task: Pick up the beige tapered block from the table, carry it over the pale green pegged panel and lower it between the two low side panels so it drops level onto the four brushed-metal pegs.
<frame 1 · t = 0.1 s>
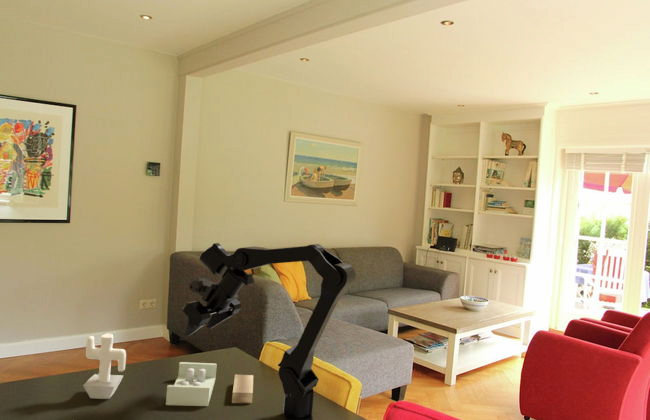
hand: (197, 331, 127), 15 cm above the table, tool tilted 30°, fingers open, 9 cm apart
beige tapered block: (242, 394, 126), on the table
figurine: (102, 395, 117), on the table
pale green pegged panel: (192, 391, 124), on the table
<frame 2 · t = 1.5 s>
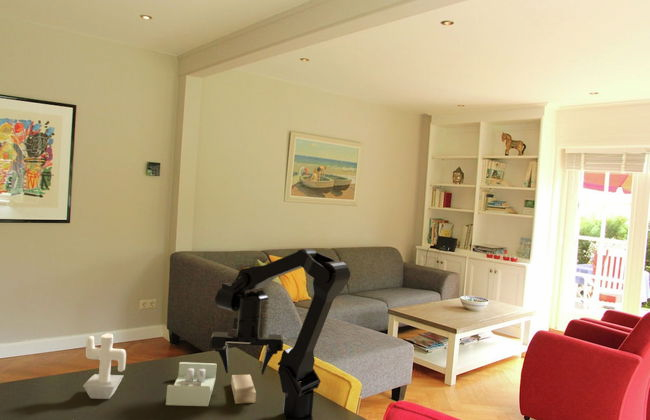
hand: (244, 373, 125), 5 cm above the table, tool pointing down, fingers open, 9 cm apart
nothing on the table moved.
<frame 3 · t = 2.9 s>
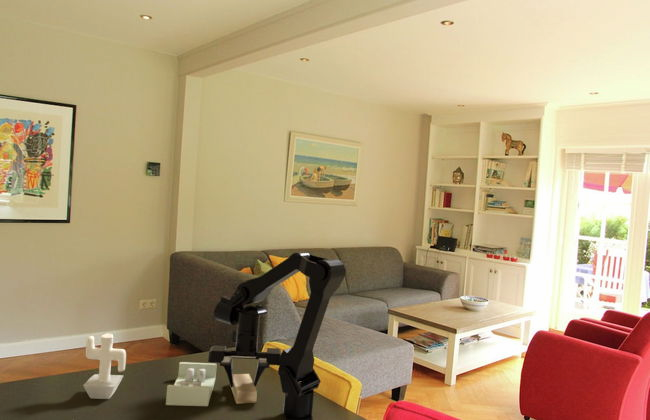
hand: (243, 387, 126), 2 cm above the table, tool pointing down, fingers closed on beige tapered block, 5 cm apart
beige tapered block: (242, 393, 126), on the table, touching gripper
everything else where it was.
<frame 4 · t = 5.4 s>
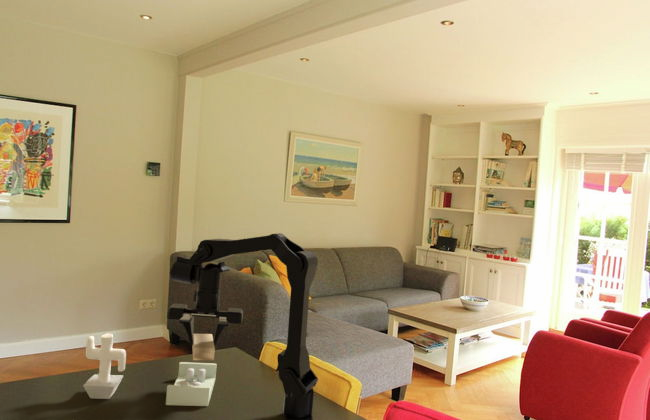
hand: (203, 346, 124), 12 cm above the table, tool pointing down, fingers closed on beige tapered block, 5 cm apart
beige tapered block: (202, 352, 124), point 10 cm above the table, touching gripper
everything else where it was.
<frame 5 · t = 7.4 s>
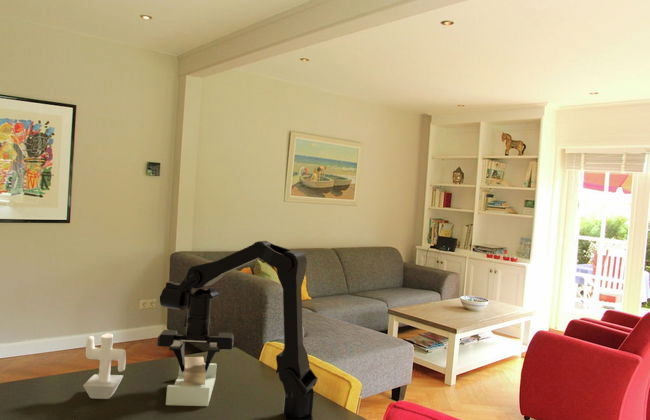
hand: (194, 372, 124), 5 cm above the table, tool pointing down, fingers closed on beige tapered block, 5 cm apart
beige tapered block: (193, 376, 124), point 4 cm above the table, touching gripper, pale green pegged panel
everything else where it was.
when the fingers open (5 cm above the table, at t = 8.0 s): beige tapered block stays where it is, resting on pale green pegged panel.
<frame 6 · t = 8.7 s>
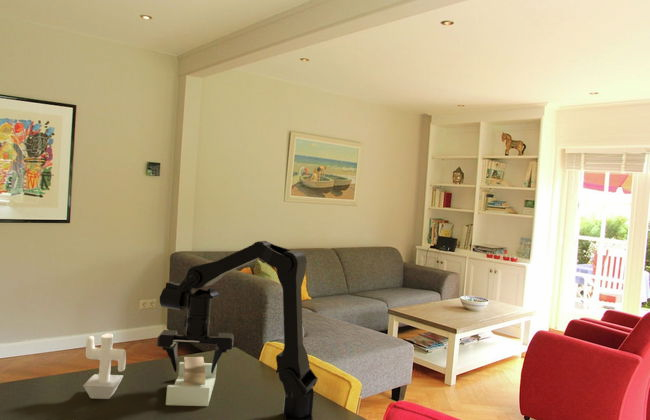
hand: (194, 372, 124), 5 cm above the table, tool pointing down, fingers open, 9 cm apart
beige tapered block: (193, 376, 124), point 4 cm above the table, touching pale green pegged panel
everything else where it was.
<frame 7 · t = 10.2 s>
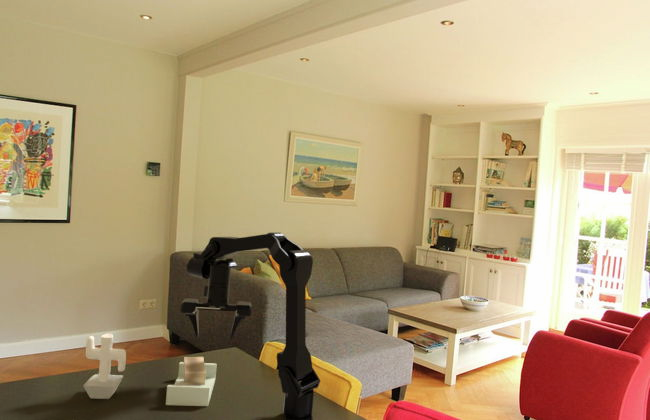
hand: (214, 338, 131), 12 cm above the table, tool pointing down, fingers open, 9 cm apart
nothing on the table moved.
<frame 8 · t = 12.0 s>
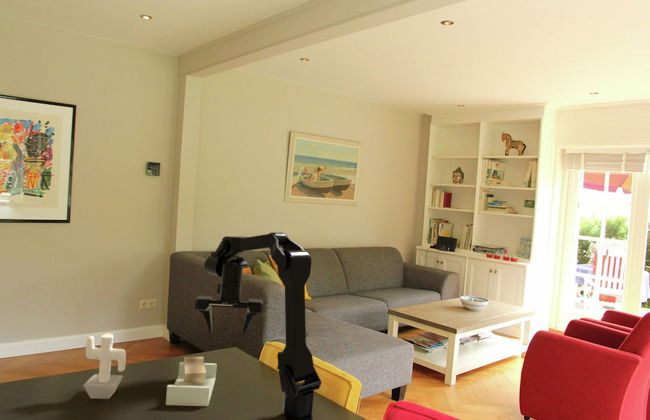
hand: (227, 333, 137), 12 cm above the table, tool pointing down, fingers open, 9 cm apart
nothing on the table moved.
at the end: beige tapered block 0.0 cm off-centre on the pale green pegged panel, point 4.0 cm above the pale green pegged panel's base; beige tapered block tilted 0°; the gripper is holding nothing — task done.
